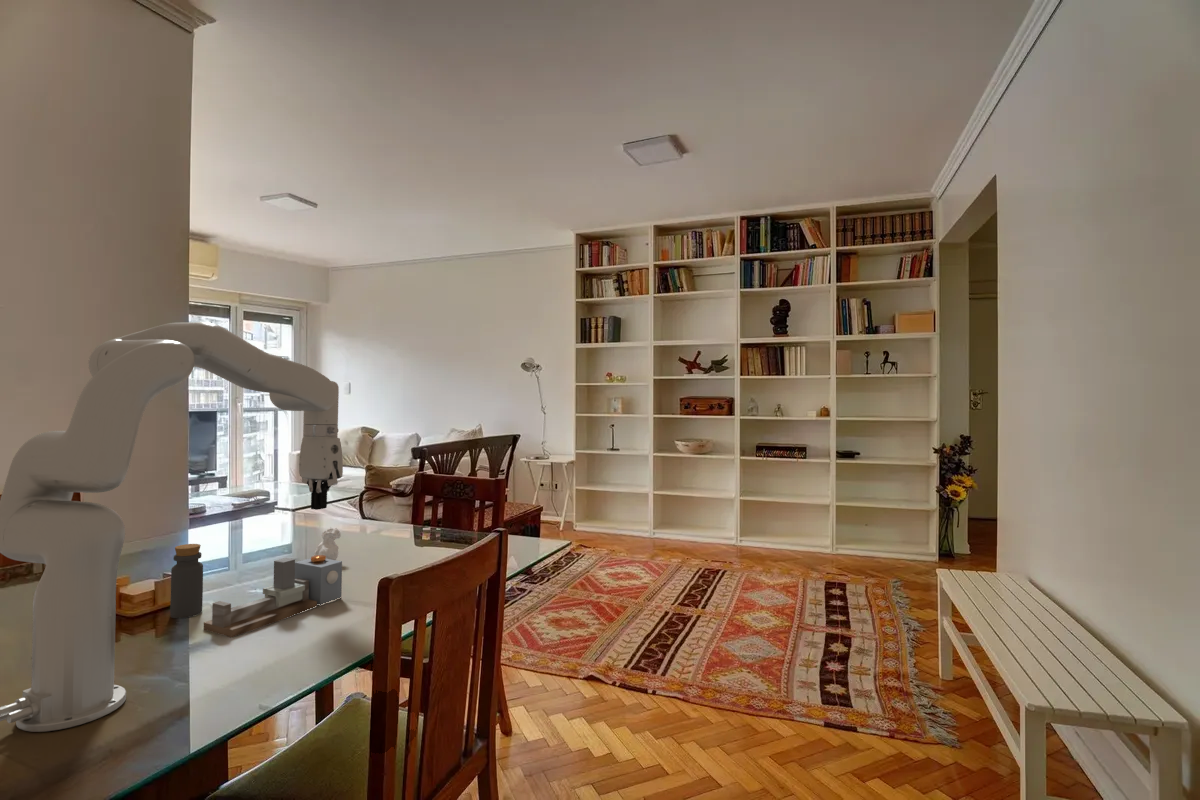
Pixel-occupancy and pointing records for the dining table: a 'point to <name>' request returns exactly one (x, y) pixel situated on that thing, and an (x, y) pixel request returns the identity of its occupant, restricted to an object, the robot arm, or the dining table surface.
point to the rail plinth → (261, 619)
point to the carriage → (284, 583)
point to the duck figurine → (329, 544)
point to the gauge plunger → (318, 559)
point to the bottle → (186, 582)
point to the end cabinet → (321, 579)
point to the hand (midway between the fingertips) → (318, 508)
